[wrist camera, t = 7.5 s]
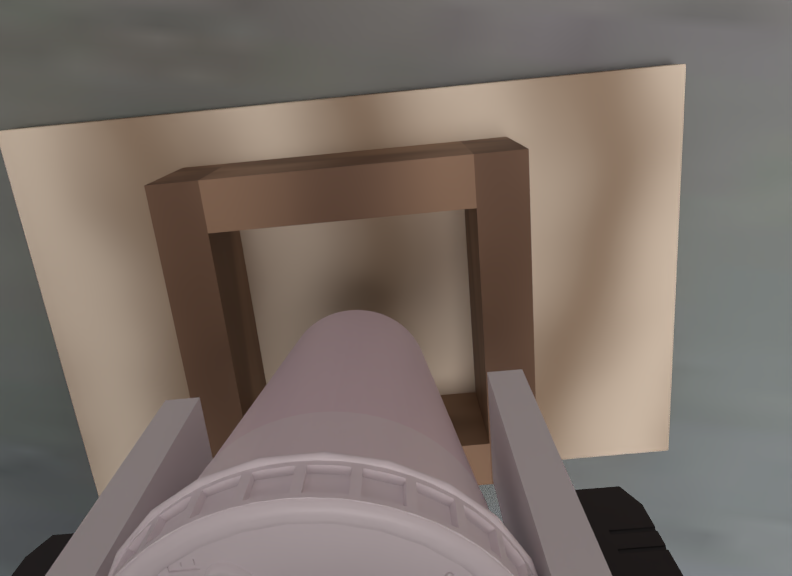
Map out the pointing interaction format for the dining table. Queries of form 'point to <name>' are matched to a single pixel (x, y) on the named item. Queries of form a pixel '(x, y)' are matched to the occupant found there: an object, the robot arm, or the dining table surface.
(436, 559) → the smoothie
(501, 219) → the socket board
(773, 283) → the dining table surface
